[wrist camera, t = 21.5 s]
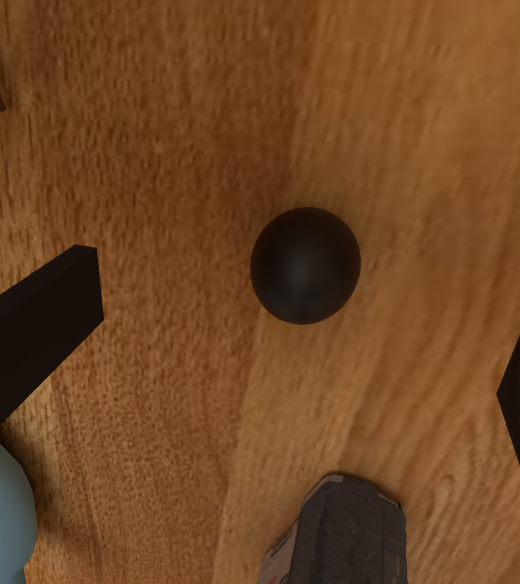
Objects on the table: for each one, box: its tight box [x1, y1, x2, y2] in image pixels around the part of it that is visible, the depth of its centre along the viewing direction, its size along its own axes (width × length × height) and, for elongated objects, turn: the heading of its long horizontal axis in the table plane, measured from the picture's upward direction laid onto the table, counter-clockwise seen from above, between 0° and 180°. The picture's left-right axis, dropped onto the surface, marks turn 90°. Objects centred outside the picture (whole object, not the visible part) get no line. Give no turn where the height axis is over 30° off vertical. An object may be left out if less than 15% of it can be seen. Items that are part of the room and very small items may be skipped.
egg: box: [250, 207, 361, 325], centre depth 18 cm, size 4×4×5 cm
